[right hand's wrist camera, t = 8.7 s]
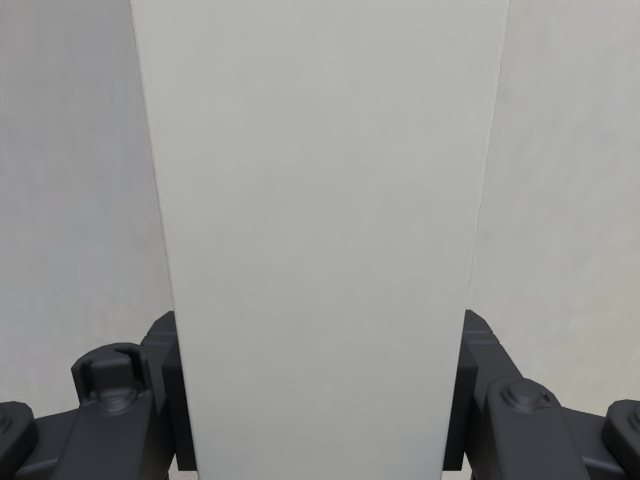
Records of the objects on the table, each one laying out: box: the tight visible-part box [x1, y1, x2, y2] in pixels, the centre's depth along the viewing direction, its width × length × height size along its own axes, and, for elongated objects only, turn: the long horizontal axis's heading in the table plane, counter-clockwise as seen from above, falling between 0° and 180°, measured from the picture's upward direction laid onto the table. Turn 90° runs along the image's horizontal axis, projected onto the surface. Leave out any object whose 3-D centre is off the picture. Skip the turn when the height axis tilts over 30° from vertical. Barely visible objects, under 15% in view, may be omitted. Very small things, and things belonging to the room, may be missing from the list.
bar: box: [129, 0, 510, 480], centre depth 9 cm, size 22×4×8 cm, turn 0°
